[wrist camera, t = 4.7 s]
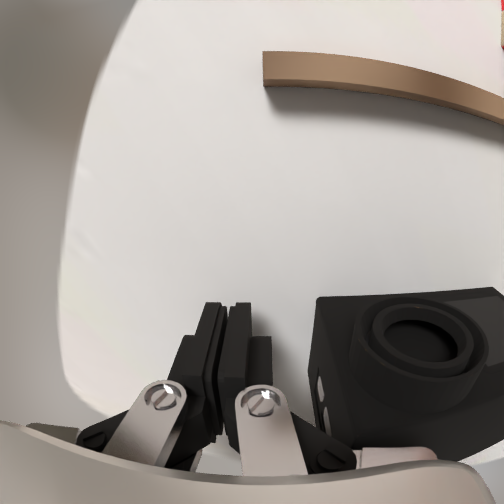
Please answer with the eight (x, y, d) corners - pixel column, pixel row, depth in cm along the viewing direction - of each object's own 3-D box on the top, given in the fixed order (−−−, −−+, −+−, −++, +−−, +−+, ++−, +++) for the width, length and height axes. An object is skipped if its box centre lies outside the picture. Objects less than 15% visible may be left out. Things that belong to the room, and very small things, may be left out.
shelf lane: (530, 118, 8) (544, 119, 7) (453, 412, 15) (459, 423, 14) (262, 61, 9) (262, 51, 8) (266, 443, 16) (266, 457, 14)
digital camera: (499, 264, 11) (585, 332, 5) (470, 348, 13) (527, 428, 6) (317, 268, 11) (371, 405, 5) (306, 370, 13) (325, 498, 7)
